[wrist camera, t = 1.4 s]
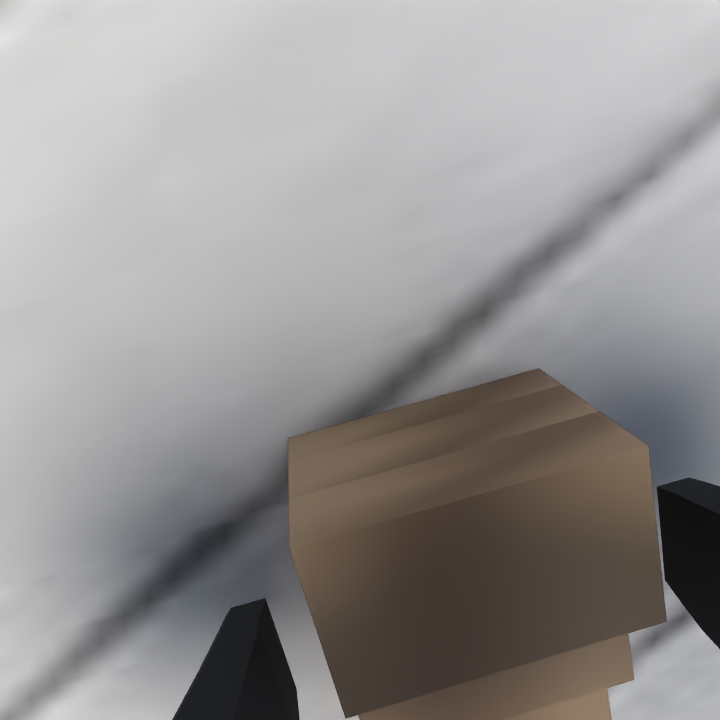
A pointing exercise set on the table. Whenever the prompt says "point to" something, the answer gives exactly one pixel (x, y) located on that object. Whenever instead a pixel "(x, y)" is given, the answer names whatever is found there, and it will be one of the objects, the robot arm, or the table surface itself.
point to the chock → (477, 554)
